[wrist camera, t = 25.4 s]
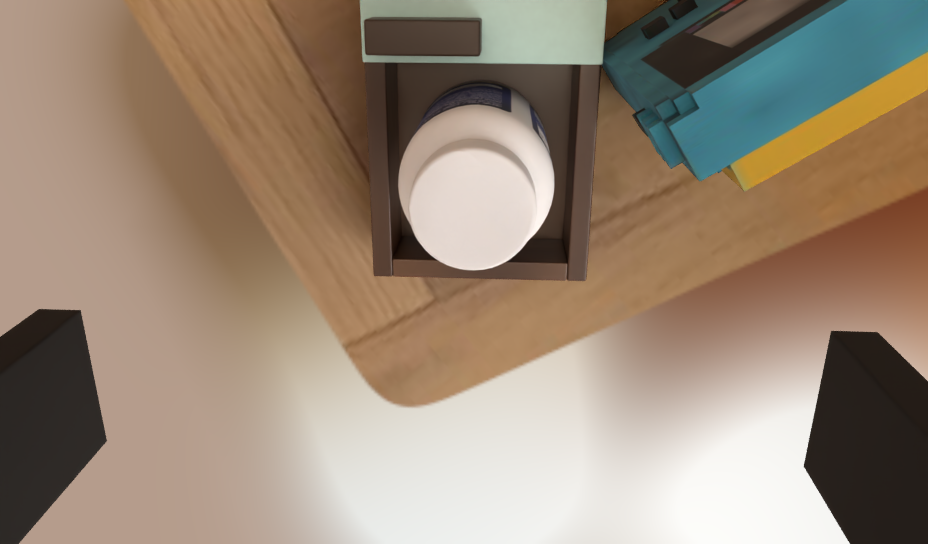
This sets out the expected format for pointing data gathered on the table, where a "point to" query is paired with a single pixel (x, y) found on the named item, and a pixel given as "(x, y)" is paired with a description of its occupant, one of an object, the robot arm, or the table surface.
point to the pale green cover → (483, 31)
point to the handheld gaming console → (765, 77)
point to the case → (569, 140)
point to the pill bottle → (477, 176)
